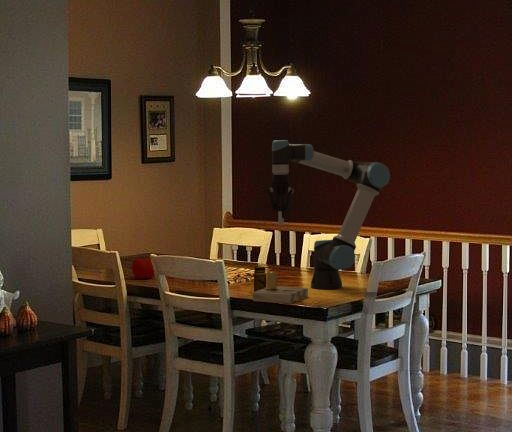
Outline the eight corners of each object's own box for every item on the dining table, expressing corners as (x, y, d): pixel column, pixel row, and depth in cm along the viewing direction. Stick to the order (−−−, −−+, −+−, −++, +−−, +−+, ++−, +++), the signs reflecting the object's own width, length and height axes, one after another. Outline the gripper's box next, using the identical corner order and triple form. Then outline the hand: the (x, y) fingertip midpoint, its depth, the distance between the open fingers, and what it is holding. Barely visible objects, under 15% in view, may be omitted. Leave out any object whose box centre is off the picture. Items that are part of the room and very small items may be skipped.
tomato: (137, 276, 527) (136, 255, 526) (160, 277, 523) (160, 255, 523) (128, 279, 515) (127, 257, 514) (152, 280, 512) (151, 258, 511)
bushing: (269, 297, 452) (269, 271, 452) (278, 298, 451) (278, 271, 450) (265, 298, 449) (265, 272, 448) (274, 299, 447) (274, 273, 446)
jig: (272, 294, 461) (272, 286, 460) (307, 296, 453) (307, 288, 452) (253, 301, 443) (252, 292, 442) (289, 303, 435) (289, 294, 434)
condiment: (266, 293, 464) (265, 268, 463) (248, 293, 465) (248, 268, 464) (268, 291, 471) (268, 266, 470) (250, 291, 472) (250, 266, 471)
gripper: (264, 174, 454) (264, 225, 455) (290, 174, 448) (290, 226, 450) (271, 173, 460) (271, 224, 462) (296, 173, 455) (297, 225, 456)
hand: (281, 225), depth 456 cm, fingers closed
